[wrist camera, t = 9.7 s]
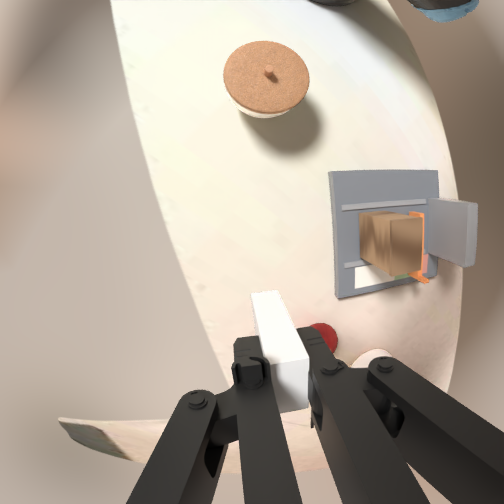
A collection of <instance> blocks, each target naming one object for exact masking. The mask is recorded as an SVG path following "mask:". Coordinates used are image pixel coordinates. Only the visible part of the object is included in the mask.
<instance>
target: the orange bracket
mask: <svg viewBox="0 0 504 504" xmlns="http://www.w3.org/2000/svg"><path fill="white" fill-rule="evenodd" d="M409 216H414V217H422V218H423V237H422V261H421V270H419V271H415V272H411V273H408V275H409V276H411V277H413V278H415V279H417V280H419V281H420V282H422V283H424V284H425V283H429V279H428V278H426V277H424V276H422V269H423V252H424V213H419V212H414V211H412V212H409Z"/></svg>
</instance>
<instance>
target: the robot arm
mask: <svg viewBox="0 0 504 504" xmlns="http://www.w3.org/2000/svg"><path fill="white" fill-rule="evenodd" d="M312 1H314V2H317V3H321V4H325V5H332V6H342V5H347V4H350V3H351V2H353V1H354V0H312ZM407 1H409V2H410V3H411V5H412V6H413V7H414V8H416V9H418V10H419V11H421V12H422V13H423V14H424V15H425V16H427V17H428V18H429V19H431V20H433V21H436V22H450V21H453V20H456V19H459V18H462V17H464V16H466V15H467V13H468V12H471V11H473V10H474V9H475V8H476V7H477V5H478V3H479V0H407ZM251 300H252V309H253V317H254V326H255V334H256V336H249V337H242V338H237V340H236V341H235V343H234V344H233V346H234V363H233V364H232V367H231V369H232V374H233V379H234V385H233V386H232V387H231V388H230V389H228V390H227V391H225V392H223V393H220V394H217V395H214V394H213V393H211V392H210V391H206V390H194V391H190V392H188V393H186V394H185V395H183V396H182V398H181V399H180V400H179V402H178V404H177V406H176V408H175V410H174V412H173V414H172V416H171V418H170V420H169V422H168V424H167V426H166V427H165V429H164V431H163V433H162V435H161V437H160V439H159V441H158V443H157V445H156V447H155V449H154V451H153V453H152V455H151V456H150V458H149V460H148V462H147V464H146V466H145V468H144V470H143V472H142V474H141V476H140V478H139V480H138V482H137V483H136V485H135V487H134V489H133V491H132V493H131V495H130V497H129V499H128V501H127V503H126V504H211V503H212V500H213V497H214V493H215V490H216V487H217V483H218V480H219V477H220V473H221V470H222V466H223V463H224V459H225V456H226V452H227V449H228V444H229V443H231V442H234V441H237V440H239V449H240V460H241V471H242V481H243V492H244V501H245V504H302V499H301V496H300V492H299V488H298V484H297V480H296V476H295V472H294V469H293V465H292V461H291V457H290V453H289V449H288V445H287V441H286V437H285V433H284V429H283V425H282V421H281V417H280V413H285V412H291V411H296V410H301V409H306V408H308V403H309V402H310V405H311V428H314V425H315V428H316V431H317V434H318V437H319V439H320V442H321V445H322V448H323V450H324V453H325V456H326V459H327V462H328V464H329V467H330V470H331V473H332V475H333V478H334V481H335V484H336V486H337V489H338V492H339V495H340V498H341V500H342V503H343V504H430V502H429V500H428V499H427V497H426V495H425V494H424V492H423V490H422V488H421V487H420V485H419V483H418V481H417V480H416V478H415V476H414V474H413V473H412V471H411V469H410V468H409V466H408V464H409V465H410V466H411V467H412V468H413V469H415V470H416V471H417V472H418V473H419V474H420V475H421V476H422V477H423V478H424V479H425V480H426V481H427V482H429V483H430V484H431V485H432V486H433V487H434V488H435V489H436V490H438V491H439V492H440V493H441V494H442V495H443V496H444V497H445V498H446V499H448V500H449V501H450V502H451V503H452V504H504V432H502V431H501V430H499V429H498V428H496V427H495V426H493V425H492V424H490V423H489V422H487V421H486V420H484V419H483V418H481V417H480V416H479V415H477V414H476V413H474V412H472V411H471V410H470V409H468V408H467V407H465V406H464V405H462V404H461V403H459V402H458V401H457V400H455V399H454V398H452V397H451V396H449V395H448V394H446V393H445V392H443V391H442V390H441V389H439V388H438V387H436V386H435V385H433V384H432V383H430V382H429V381H427V380H426V379H425V378H423V377H422V376H420V375H419V374H417V373H416V372H414V371H413V370H412V369H410V368H409V367H407V366H406V365H404V364H403V363H401V362H400V361H398V360H397V359H395V358H393V357H388V356H380V357H377V358H374V359H373V360H371V361H370V363H369V365H368V368H350V367H348V366H347V365H346V364H345V363H344V362H343V361H341V360H339V359H336V358H335V357H334V355H333V353H332V352H331V350H330V348H329V347H328V345H327V344H326V343H325V340H324V339H323V338H322V335H321V334H320V332H319V330H317V329H315V328H314V327H312V326H309V327H303V328H298V329H296V328H295V326H294V324H293V322H292V320H291V318H290V316H289V313H288V311H287V309H286V307H285V305H284V303H283V301H282V299H281V297H280V294H279V292H278V290H272V291H265V292H257V293H251ZM406 462H407V463H408V464H407V463H406Z"/></svg>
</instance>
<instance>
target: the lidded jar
mask: <svg viewBox="0 0 504 504" xmlns="http://www.w3.org/2000/svg"><path fill="white" fill-rule="evenodd" d="M223 77H224V83H225V89H226V92H227V95H228V97H229V99H230V100H231V102H232V103H233V104H234V105H235V106H236V107H237V108H238V109H239V110H240V111H242V112H243V113H245V114H247V115H250V116H253V117H257V118H271V117H276V116H279V115H282V114H284V113H286V112H288V111H289V110H290V109H292V108H293V107H295V106H296V105H297V104H298V103H299V102H300V101H301V100H302V99H303V98H304V96H305V95H306V93H307V90H308V87H309V73H308V70H307V67H306V65H305V63H304V61H303V60H302V59H301V57H300V56H299V55H298V54H297V53H296V52H294V51H293V50H291V49H290V48H288V47H286V46H284V45H282V44H279V43H275V42H270V41H256V42H251V43H248V44H245V45H243V46H241V47H239V48H238V49H236V50H235V51H234V52H233V53H232V54H231V55H230V56H229V58H228V60H227V61H226V64H225V67H224V74H223Z"/></svg>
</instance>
